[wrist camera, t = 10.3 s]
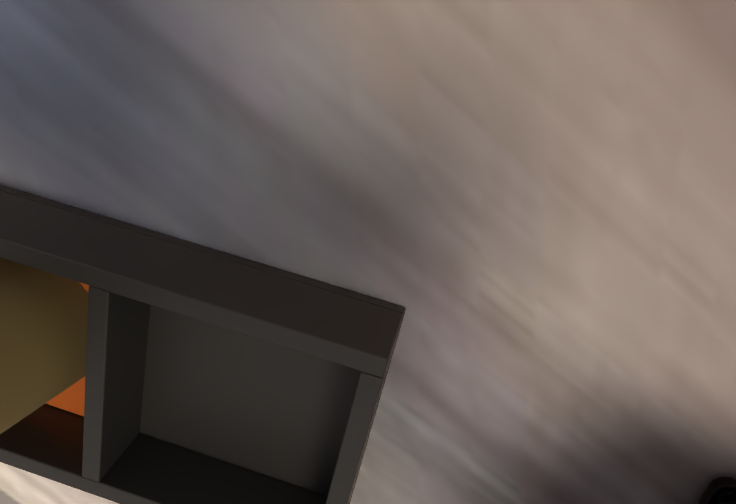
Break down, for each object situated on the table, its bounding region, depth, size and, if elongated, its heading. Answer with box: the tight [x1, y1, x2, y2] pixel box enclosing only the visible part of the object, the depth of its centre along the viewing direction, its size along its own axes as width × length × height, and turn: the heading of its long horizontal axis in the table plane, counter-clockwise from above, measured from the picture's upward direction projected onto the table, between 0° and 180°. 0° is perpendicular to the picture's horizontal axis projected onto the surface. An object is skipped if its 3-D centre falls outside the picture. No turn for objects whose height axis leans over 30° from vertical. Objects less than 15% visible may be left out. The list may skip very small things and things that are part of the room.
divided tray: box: [0, 185, 406, 504], centre depth 23 cm, size 9×18×3 cm, turn 77°
